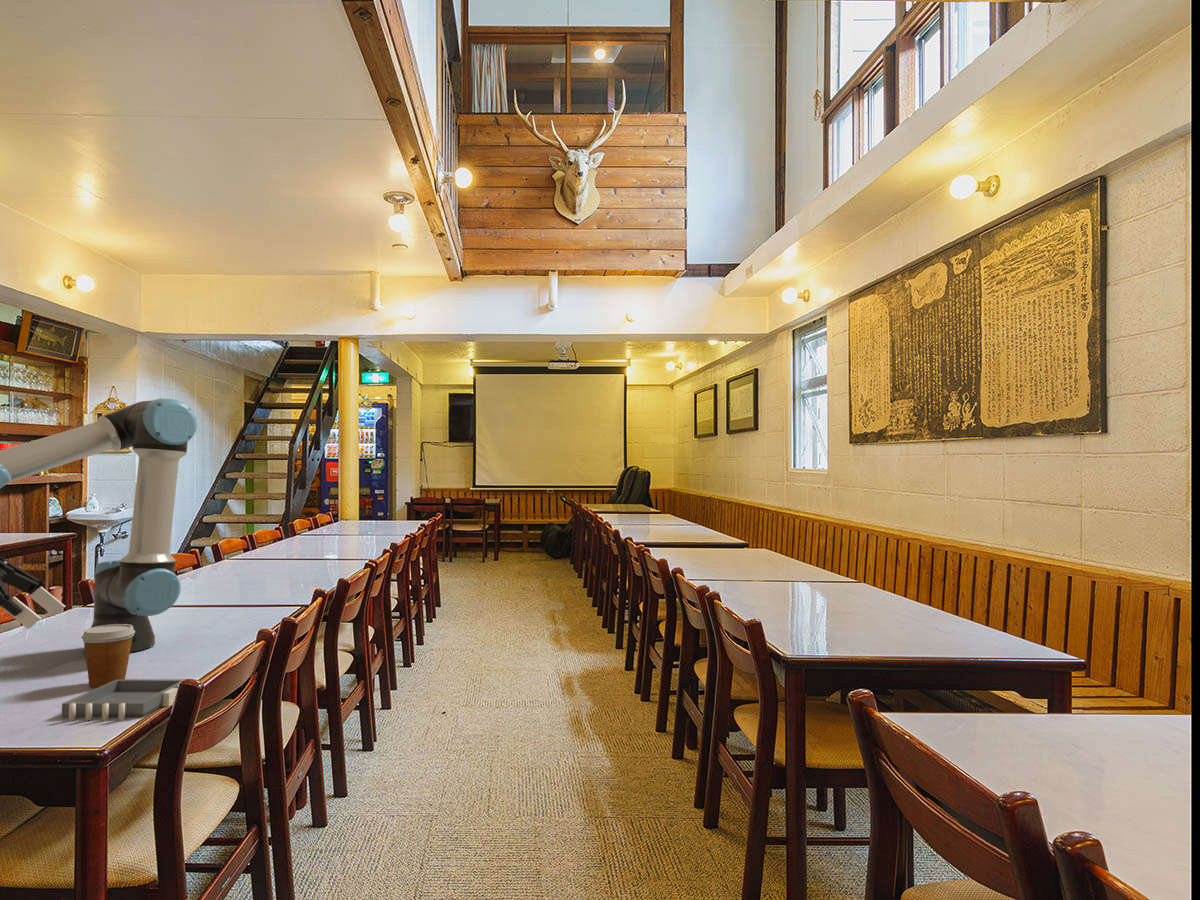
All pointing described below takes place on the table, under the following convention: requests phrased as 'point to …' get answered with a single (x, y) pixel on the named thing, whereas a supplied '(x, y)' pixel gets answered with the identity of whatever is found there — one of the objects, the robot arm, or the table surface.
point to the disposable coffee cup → (107, 652)
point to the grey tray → (122, 699)
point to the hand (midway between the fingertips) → (48, 617)
